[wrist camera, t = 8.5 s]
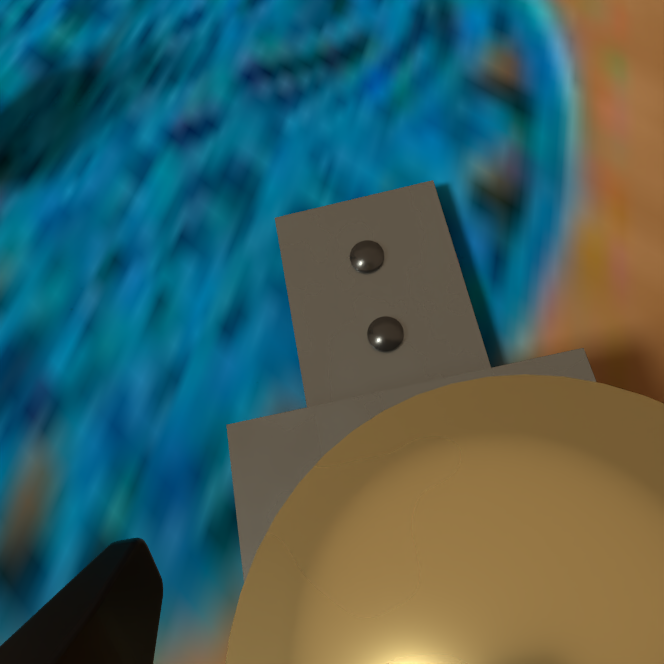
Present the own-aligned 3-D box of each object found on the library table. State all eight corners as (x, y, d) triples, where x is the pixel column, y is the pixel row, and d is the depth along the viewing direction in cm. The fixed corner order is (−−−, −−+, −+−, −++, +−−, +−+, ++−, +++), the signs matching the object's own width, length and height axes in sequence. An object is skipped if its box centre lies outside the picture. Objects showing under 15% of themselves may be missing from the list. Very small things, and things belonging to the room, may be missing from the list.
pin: (555, 598, 15) (1171, 845, 3) (432, 700, 15) (534, 1507, 2) (453, 469, 17) (567, 271, 5) (338, 557, 17) (112, 609, 4)
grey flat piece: (859, 1234, 11) (1014, 1474, 8) (365, 1294, 11) (351, 1535, 9) (485, 177, 21) (496, 120, 18) (228, 238, 21) (200, 192, 18)
